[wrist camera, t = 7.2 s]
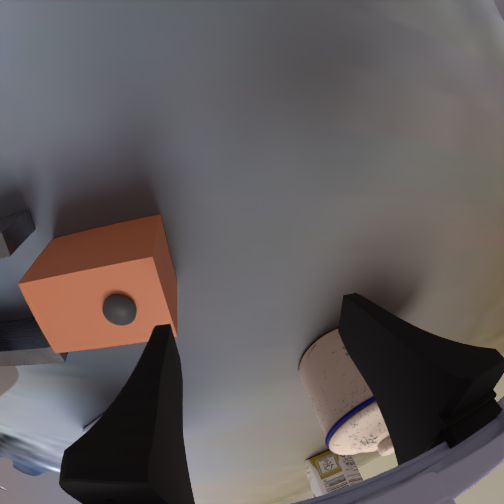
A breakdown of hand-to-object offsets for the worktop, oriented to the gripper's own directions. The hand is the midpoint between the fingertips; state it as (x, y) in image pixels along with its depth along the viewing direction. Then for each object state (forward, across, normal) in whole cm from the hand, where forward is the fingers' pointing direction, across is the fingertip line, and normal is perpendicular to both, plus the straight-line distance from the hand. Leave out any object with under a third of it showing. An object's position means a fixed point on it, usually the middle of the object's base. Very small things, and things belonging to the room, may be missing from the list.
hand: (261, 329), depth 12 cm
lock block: (+10, +8, +1) cm, 13 cm away
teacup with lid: (+10, -11, +14) cm, 20 cm away
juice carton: (+10, -12, +41) cm, 44 cm away
